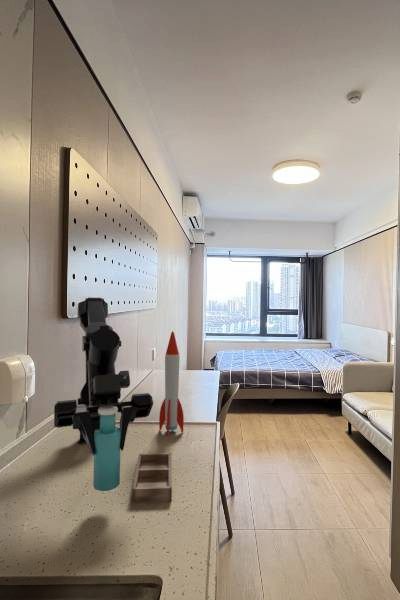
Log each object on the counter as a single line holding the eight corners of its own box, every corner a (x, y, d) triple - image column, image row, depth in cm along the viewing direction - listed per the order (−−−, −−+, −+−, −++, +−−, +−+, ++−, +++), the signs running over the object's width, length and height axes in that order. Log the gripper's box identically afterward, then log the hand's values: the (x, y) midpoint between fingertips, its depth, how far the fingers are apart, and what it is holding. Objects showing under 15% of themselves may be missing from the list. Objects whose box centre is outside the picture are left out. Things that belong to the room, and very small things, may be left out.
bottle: (90, 491, 62) (92, 413, 61) (96, 477, 66) (97, 404, 66) (117, 490, 62) (119, 413, 62) (121, 476, 67) (122, 404, 67)
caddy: (132, 502, 66) (132, 489, 66) (138, 464, 81) (139, 453, 81) (171, 501, 66) (171, 487, 66) (170, 463, 82) (171, 452, 82)
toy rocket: (183, 433, 100) (186, 331, 100) (167, 436, 97) (169, 332, 97) (174, 427, 105) (177, 330, 105) (158, 430, 102) (160, 330, 102)
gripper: (55, 359, 64) (53, 440, 54) (151, 354, 71) (166, 425, 61) (55, 390, 71) (53, 467, 61) (142, 383, 79) (154, 450, 68)
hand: (108, 451), depth 63 cm, fingers closed on bottle, 5 cm apart
